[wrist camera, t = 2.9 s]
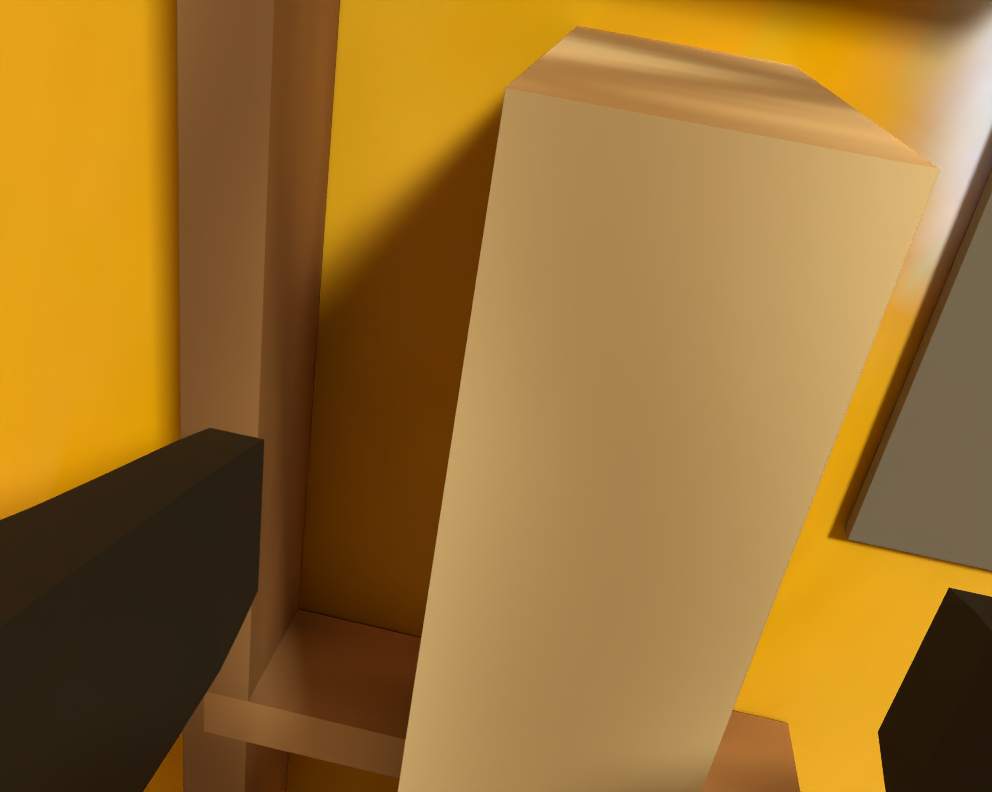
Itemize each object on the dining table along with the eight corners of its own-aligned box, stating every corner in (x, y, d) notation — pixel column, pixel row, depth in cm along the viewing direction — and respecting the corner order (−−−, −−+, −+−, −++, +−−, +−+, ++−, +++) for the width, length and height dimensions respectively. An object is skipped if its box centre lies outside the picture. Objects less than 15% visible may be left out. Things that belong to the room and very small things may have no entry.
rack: (1180, -199, 10) (1324, -242, 8) (683, 967, 21) (687, 1087, 18) (269, -341, 11) (172, -417, 9) (232, 852, 21) (184, 955, 19)
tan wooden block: (792, 64, 12) (940, 167, 6) (630, 619, 17) (619, 1007, 11) (578, 25, 12) (506, 88, 6) (476, 584, 17) (374, 943, 11)
